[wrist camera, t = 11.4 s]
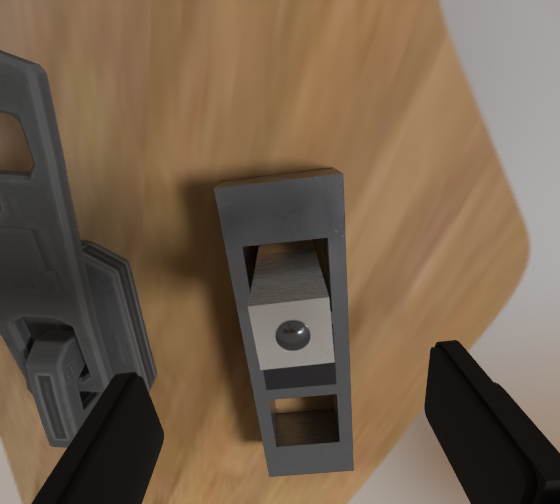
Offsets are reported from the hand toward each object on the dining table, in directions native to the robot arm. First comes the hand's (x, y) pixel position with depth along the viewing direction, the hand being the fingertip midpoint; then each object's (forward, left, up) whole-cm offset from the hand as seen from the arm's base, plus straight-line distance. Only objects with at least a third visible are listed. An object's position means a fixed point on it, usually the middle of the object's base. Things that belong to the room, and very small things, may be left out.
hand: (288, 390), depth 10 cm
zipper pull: (0, -14, -12) cm, 19 cm away
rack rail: (+7, 0, -12) cm, 14 cm away
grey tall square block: (+1, 0, -12) cm, 12 cm away
